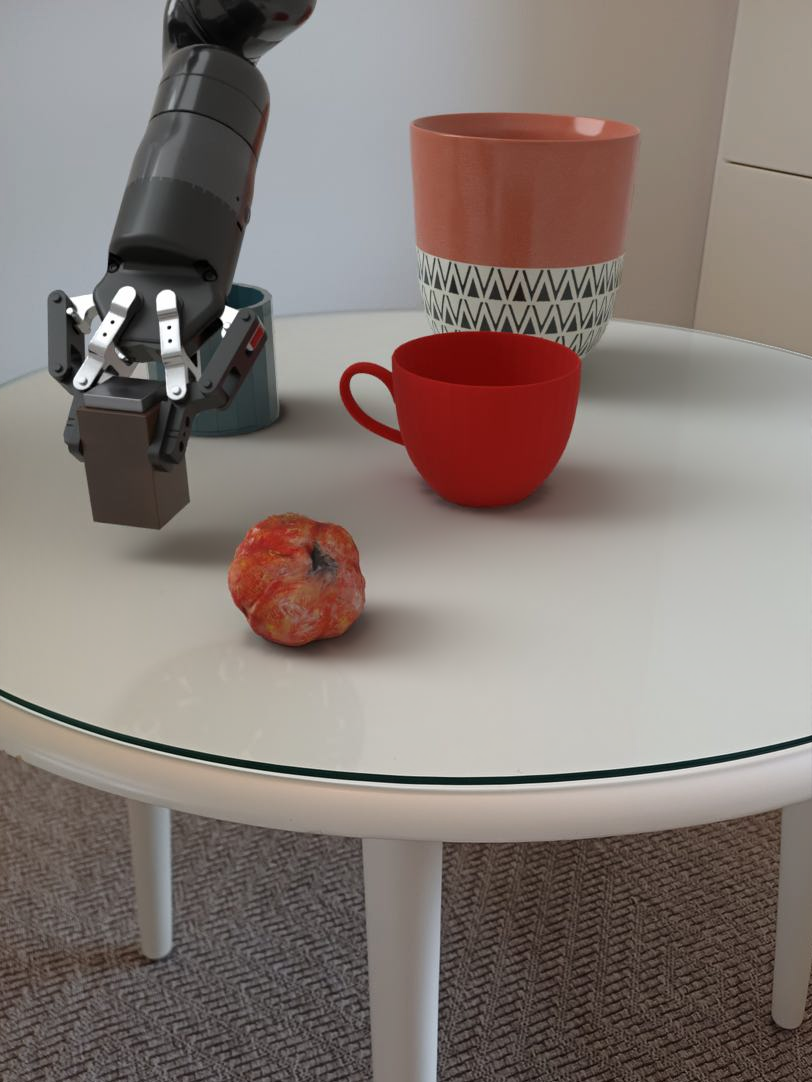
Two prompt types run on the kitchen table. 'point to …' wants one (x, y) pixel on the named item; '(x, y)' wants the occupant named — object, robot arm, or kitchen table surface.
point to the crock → (260, 386)
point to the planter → (522, 222)
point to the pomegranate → (297, 579)
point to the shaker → (128, 455)
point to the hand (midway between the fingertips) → (120, 461)
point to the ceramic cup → (478, 411)
